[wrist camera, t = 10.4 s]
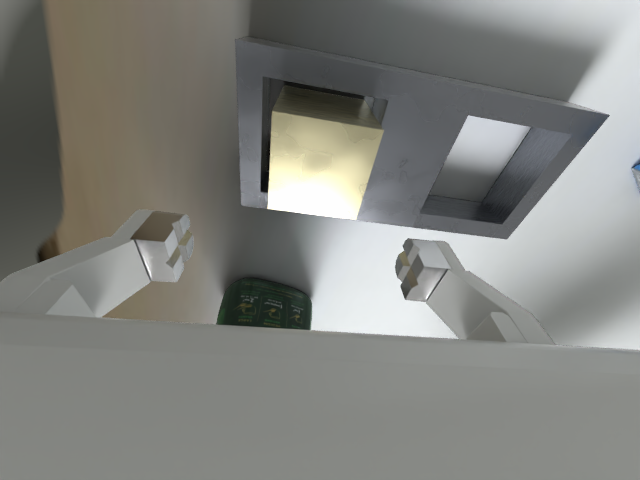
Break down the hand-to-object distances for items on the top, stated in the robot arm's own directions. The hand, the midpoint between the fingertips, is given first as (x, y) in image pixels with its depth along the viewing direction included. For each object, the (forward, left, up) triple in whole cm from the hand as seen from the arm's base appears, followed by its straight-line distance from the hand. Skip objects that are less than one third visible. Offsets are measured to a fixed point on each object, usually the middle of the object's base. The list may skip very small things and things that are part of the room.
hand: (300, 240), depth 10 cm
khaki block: (-1, -1, -10) cm, 10 cm away
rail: (-6, -1, -10) cm, 12 cm away
